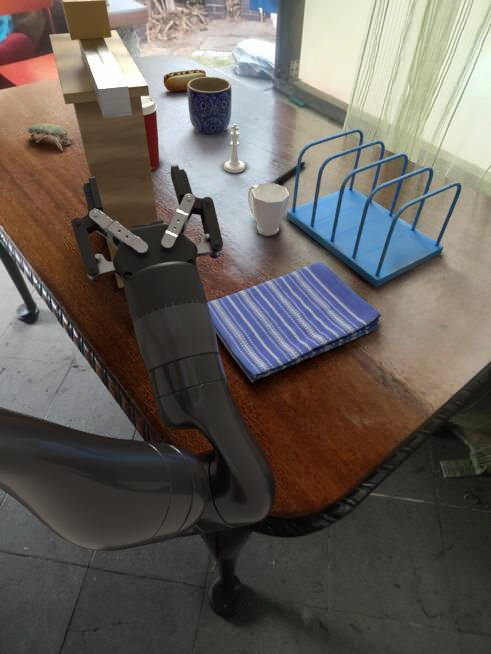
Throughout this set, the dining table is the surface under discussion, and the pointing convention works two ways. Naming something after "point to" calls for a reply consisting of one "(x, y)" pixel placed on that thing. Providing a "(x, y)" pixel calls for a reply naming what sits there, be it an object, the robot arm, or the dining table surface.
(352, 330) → the dish towel
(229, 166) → the chess piece
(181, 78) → the hot dog
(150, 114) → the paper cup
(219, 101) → the planter
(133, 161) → the stand
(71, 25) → the mallet
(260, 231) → the cup
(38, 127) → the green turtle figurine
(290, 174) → the pen
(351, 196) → the file sorter
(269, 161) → the dining table surface
